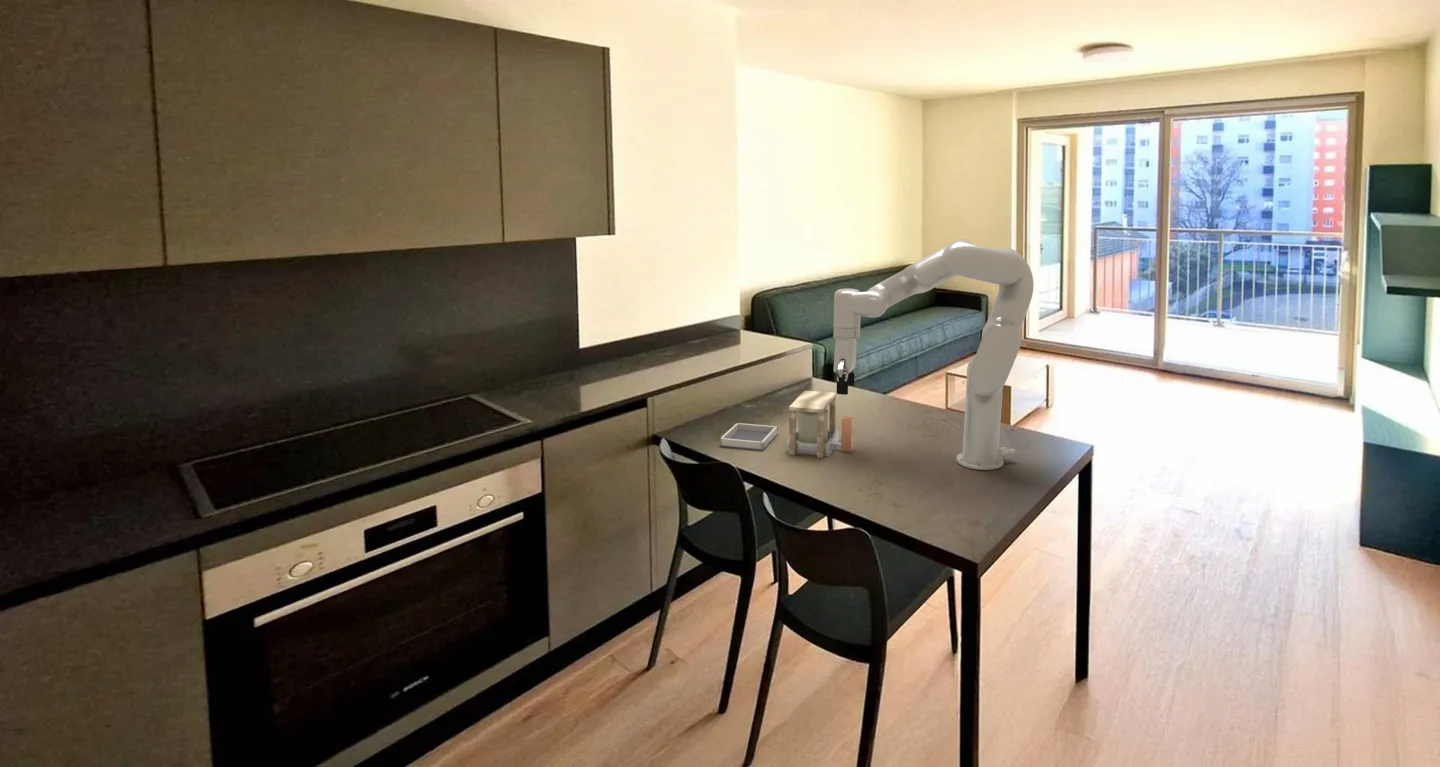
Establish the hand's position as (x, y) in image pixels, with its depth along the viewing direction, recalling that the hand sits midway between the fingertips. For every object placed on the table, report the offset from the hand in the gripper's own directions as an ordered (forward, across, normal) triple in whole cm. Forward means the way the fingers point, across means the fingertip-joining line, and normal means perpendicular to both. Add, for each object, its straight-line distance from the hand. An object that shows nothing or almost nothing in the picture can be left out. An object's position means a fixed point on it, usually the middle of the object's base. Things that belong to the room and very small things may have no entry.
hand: (845, 389), depth 217 cm
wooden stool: (+19, -2, -10) cm, 22 cm away
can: (+20, -2, -10) cm, 22 cm away
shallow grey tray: (+19, -2, -7) cm, 21 cm away
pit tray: (+20, -2, -30) cm, 36 cm away
